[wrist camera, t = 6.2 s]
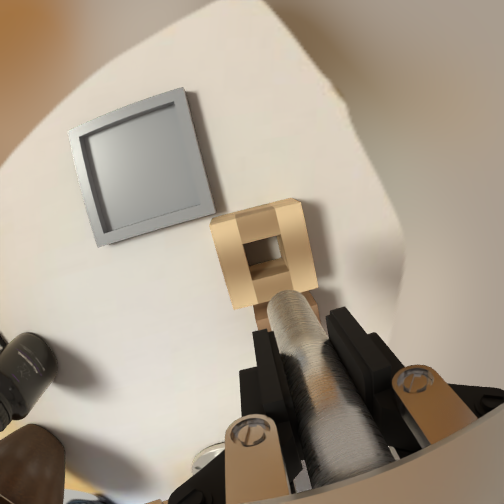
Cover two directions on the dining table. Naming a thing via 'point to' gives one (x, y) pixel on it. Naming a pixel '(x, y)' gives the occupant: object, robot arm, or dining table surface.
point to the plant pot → (31, 467)
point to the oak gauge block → (271, 272)
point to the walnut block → (262, 314)
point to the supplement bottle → (24, 376)
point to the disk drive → (2, 343)
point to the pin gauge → (324, 397)
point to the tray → (141, 168)
